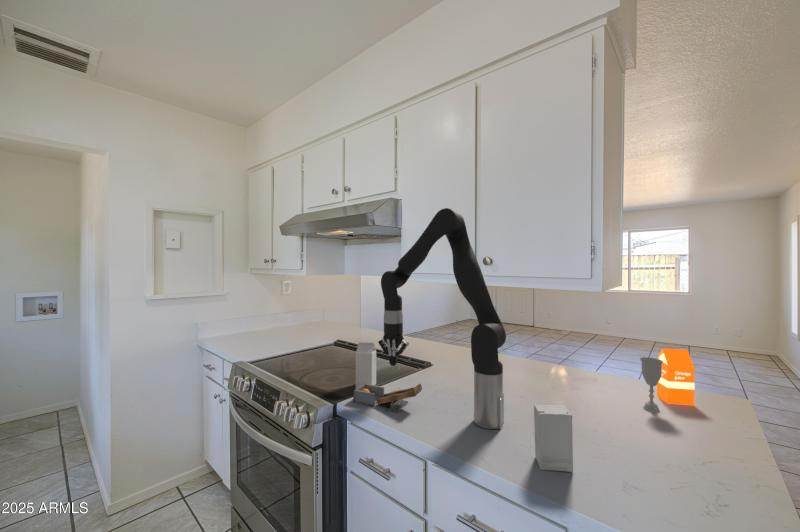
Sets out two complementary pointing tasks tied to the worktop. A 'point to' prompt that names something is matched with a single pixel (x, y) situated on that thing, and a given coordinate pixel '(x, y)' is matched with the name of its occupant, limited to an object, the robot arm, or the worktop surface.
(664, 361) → the orange juice
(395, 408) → the fulcrum
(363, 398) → the tray
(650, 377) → the chalice
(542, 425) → the skincare box
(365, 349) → the milk carton
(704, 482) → the worktop surface
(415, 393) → the lever
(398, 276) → the robot arm
